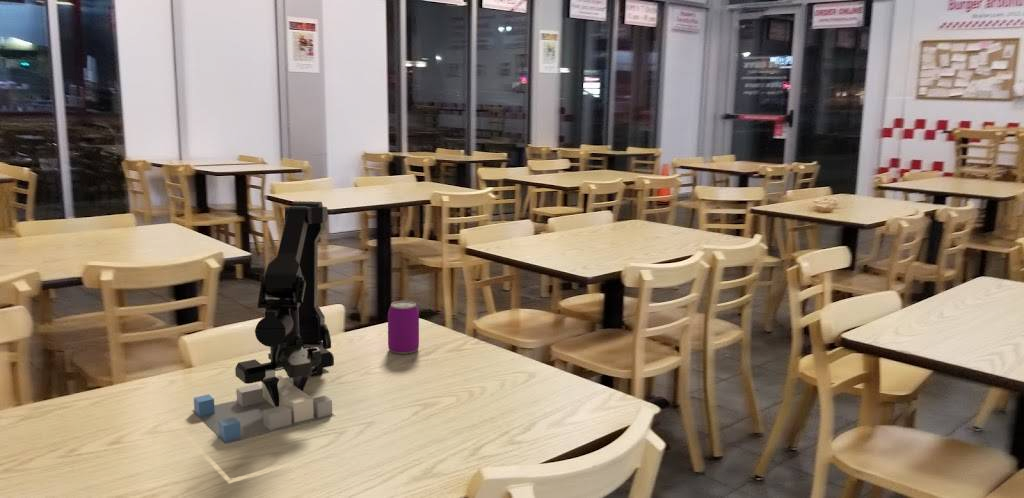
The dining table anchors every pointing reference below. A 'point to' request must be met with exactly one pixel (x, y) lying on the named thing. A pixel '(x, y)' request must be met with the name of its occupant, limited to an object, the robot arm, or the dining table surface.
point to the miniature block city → (252, 414)
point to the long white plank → (292, 400)
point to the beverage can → (403, 327)
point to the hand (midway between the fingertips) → (287, 404)
